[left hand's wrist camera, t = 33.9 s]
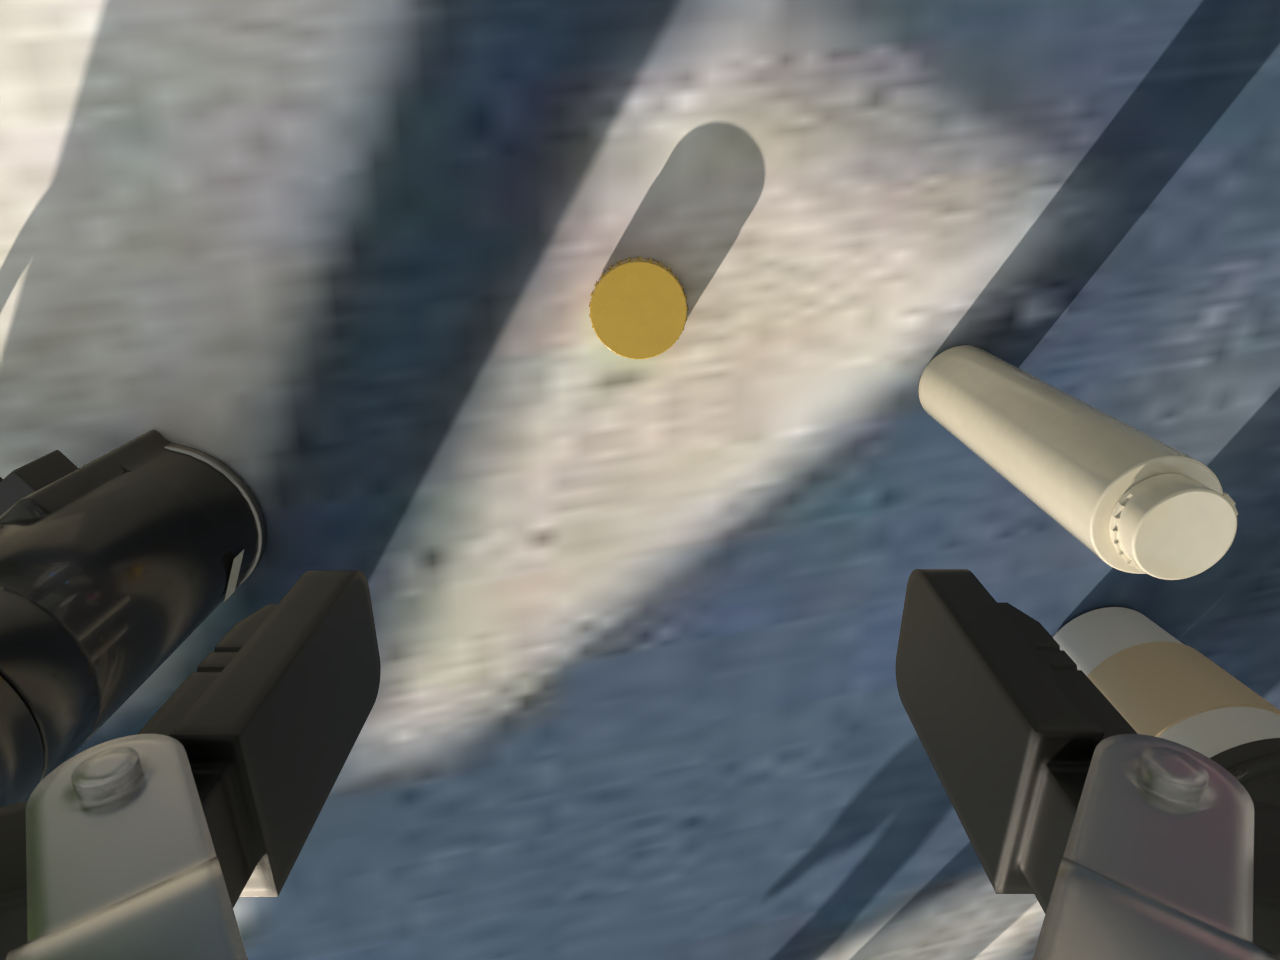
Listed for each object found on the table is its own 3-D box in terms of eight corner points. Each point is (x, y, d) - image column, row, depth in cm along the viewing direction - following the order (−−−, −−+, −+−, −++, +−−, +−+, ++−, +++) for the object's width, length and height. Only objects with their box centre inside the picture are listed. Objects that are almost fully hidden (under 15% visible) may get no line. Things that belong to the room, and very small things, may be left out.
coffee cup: (1201, 665, 46) (1441, 875, 33) (1066, 739, 49) (1237, 967, 35) (1137, 562, 44) (1369, 744, 30) (997, 645, 46) (1152, 851, 32)
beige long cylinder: (950, 438, 41) (1161, 619, 25) (901, 385, 40) (1088, 537, 23) (1015, 384, 40) (1282, 535, 23) (967, 328, 39) (1212, 444, 22)
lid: (581, 266, 38) (578, 270, 36) (678, 247, 37) (679, 250, 36) (601, 361, 40) (599, 368, 38) (693, 344, 39) (696, 350, 38)
